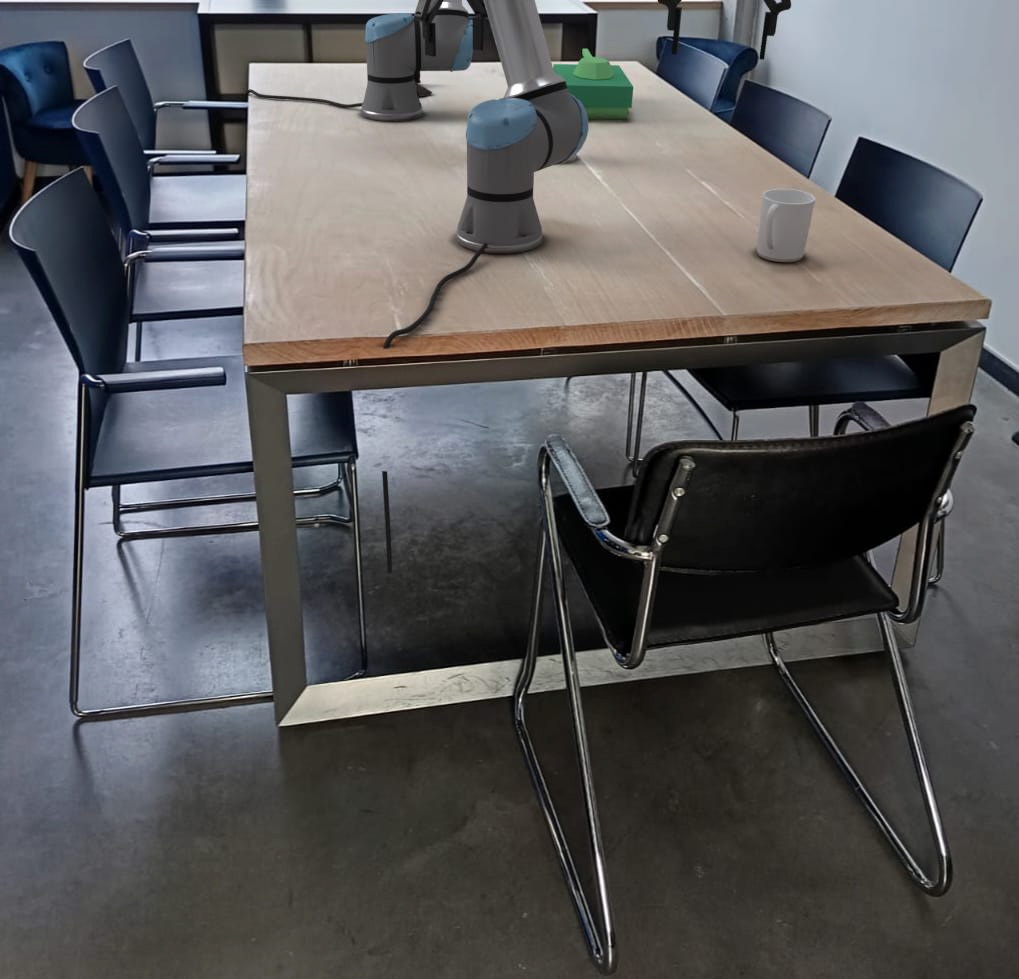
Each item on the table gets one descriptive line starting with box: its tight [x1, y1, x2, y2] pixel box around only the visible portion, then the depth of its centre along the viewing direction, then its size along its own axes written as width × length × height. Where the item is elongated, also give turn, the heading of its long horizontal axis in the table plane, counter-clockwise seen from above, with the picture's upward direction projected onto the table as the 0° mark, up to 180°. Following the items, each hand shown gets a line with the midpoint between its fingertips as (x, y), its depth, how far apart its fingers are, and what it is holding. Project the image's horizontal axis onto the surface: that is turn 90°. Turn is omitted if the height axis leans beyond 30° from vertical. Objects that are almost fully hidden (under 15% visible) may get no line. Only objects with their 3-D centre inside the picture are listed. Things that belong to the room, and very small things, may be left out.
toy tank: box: [552, 48, 634, 120], centre depth 286 cm, size 18×12×35 cm
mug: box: [756, 188, 816, 263], centre depth 188 cm, size 11×9×10 cm
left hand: (454, 52), depth 236 cm, fingers open, 13 cm apart
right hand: (717, 55), depth 172 cm, fingers open, 13 cm apart
